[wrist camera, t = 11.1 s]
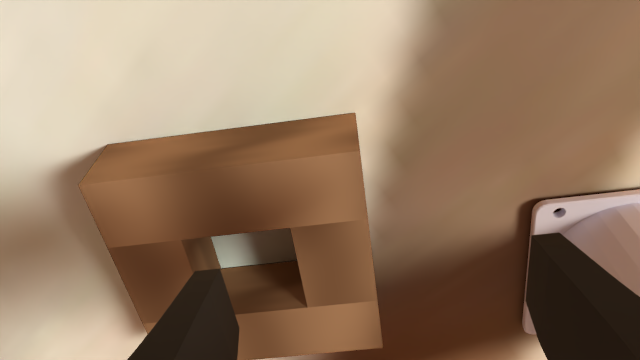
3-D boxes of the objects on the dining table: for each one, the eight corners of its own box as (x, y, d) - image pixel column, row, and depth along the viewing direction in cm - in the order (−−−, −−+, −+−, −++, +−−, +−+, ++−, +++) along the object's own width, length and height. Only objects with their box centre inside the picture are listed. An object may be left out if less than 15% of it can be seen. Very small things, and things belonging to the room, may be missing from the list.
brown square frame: (355, 113, 20) (359, 150, 18) (377, 298, 26) (383, 347, 23) (107, 144, 21) (78, 185, 18) (178, 317, 26) (163, 367, 24)
